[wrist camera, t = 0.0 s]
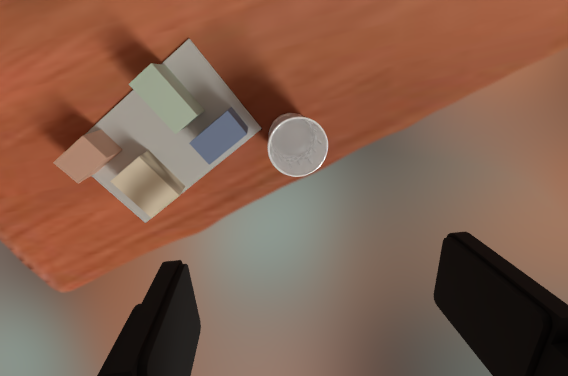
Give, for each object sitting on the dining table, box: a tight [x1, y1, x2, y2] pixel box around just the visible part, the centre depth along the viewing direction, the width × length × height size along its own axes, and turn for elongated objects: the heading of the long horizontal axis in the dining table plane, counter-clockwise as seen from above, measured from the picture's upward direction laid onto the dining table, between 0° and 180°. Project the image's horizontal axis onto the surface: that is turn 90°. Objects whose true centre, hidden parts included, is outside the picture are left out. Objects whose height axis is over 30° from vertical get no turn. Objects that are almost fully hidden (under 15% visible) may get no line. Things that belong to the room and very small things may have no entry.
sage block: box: [129, 63, 205, 134], centre depth 39 cm, size 8×4×6 cm, turn 38°
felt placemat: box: [85, 39, 262, 223], centre depth 44 cm, size 16×26×1 cm, turn 128°
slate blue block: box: [189, 107, 248, 165], centre depth 42 cm, size 7×4×6 cm, turn 128°
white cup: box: [268, 113, 328, 177], centre depth 41 cm, size 8×8×10 cm
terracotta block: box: [53, 129, 123, 183], centre depth 41 cm, size 4×6×5 cm, turn 128°
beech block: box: [110, 150, 186, 218], centre depth 44 cm, size 8×6×4 cm
